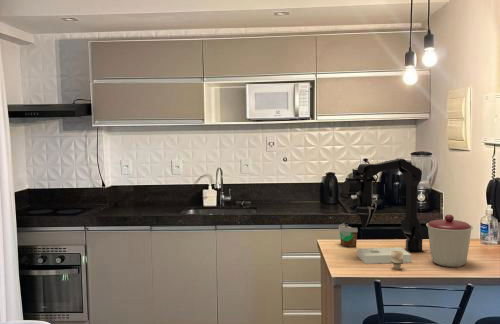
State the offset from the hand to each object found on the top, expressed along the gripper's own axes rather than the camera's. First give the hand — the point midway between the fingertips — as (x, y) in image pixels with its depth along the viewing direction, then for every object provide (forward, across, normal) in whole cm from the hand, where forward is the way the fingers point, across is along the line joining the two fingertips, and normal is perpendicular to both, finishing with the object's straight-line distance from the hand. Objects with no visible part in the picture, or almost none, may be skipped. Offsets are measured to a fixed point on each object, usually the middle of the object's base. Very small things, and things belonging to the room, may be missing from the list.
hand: (366, 226), depth 203 cm
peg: (+14, +14, +15) cm, 25 cm away
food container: (+14, -15, -13) cm, 25 cm away
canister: (+14, -2, +34) cm, 37 cm away
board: (+14, +2, +8) cm, 16 cm away
